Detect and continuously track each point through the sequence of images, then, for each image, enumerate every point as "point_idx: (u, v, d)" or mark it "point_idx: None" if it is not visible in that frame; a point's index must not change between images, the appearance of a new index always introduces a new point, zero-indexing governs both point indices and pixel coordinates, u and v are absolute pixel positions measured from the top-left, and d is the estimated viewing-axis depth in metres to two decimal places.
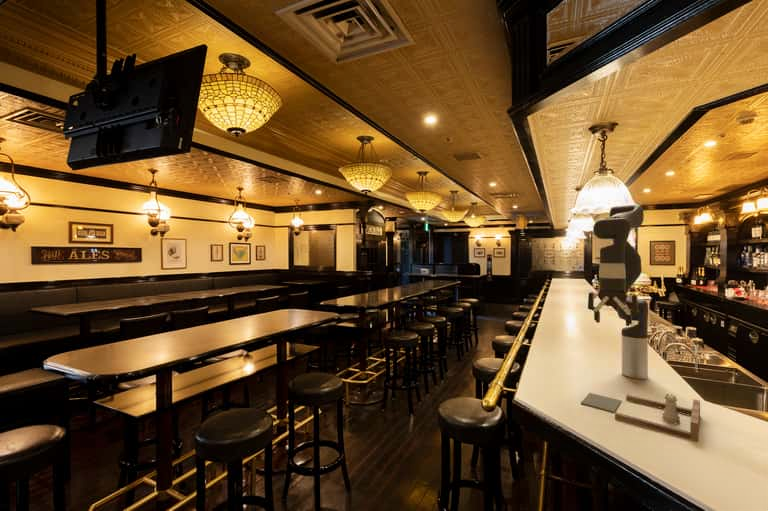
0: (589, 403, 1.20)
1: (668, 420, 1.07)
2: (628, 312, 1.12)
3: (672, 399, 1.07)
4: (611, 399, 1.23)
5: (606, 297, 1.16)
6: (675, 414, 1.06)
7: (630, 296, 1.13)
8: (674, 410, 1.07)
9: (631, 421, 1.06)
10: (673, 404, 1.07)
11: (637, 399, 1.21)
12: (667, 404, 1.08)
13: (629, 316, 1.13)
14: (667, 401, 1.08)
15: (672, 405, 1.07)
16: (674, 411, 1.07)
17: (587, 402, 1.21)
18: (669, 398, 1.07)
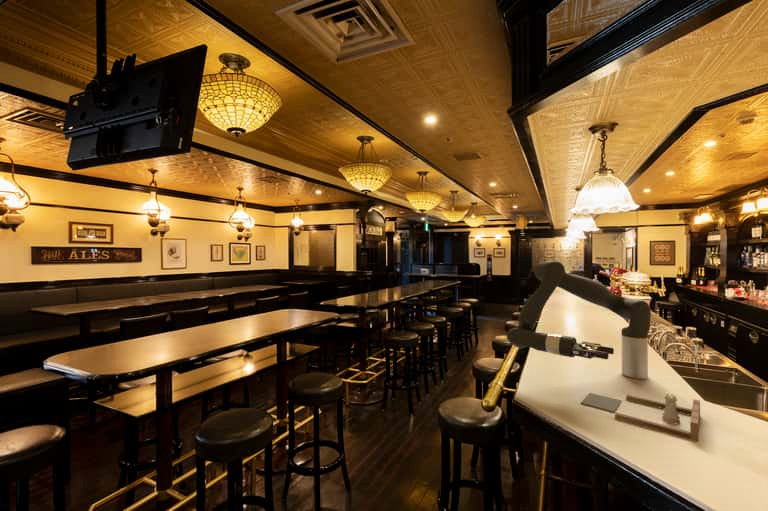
0: (589, 403, 1.20)
1: (668, 420, 1.07)
2: None
3: (672, 399, 1.07)
4: (611, 399, 1.23)
5: None
6: (675, 414, 1.06)
7: None
8: (674, 410, 1.07)
9: (631, 421, 1.06)
10: (673, 404, 1.07)
11: (637, 399, 1.21)
12: (667, 404, 1.08)
13: (596, 356, 1.18)
14: (667, 401, 1.08)
15: (672, 405, 1.07)
16: (674, 411, 1.07)
17: (587, 402, 1.21)
18: (669, 398, 1.07)
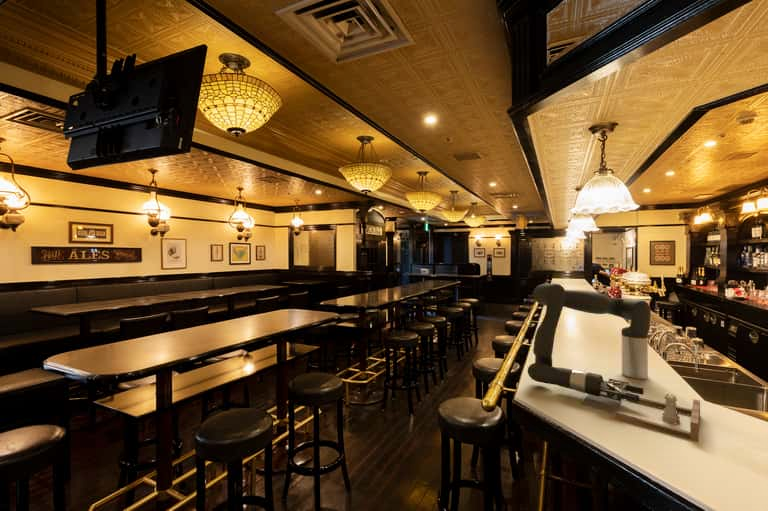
0: (589, 403, 1.20)
1: (668, 420, 1.07)
2: None
3: (672, 399, 1.07)
4: (611, 399, 1.23)
5: None
6: (675, 414, 1.06)
7: None
8: (674, 410, 1.07)
9: (631, 421, 1.06)
10: (673, 404, 1.07)
11: None
12: (667, 404, 1.08)
13: (626, 398, 1.12)
14: (667, 401, 1.08)
15: (672, 405, 1.07)
16: (674, 411, 1.07)
17: (587, 402, 1.21)
18: (669, 398, 1.07)
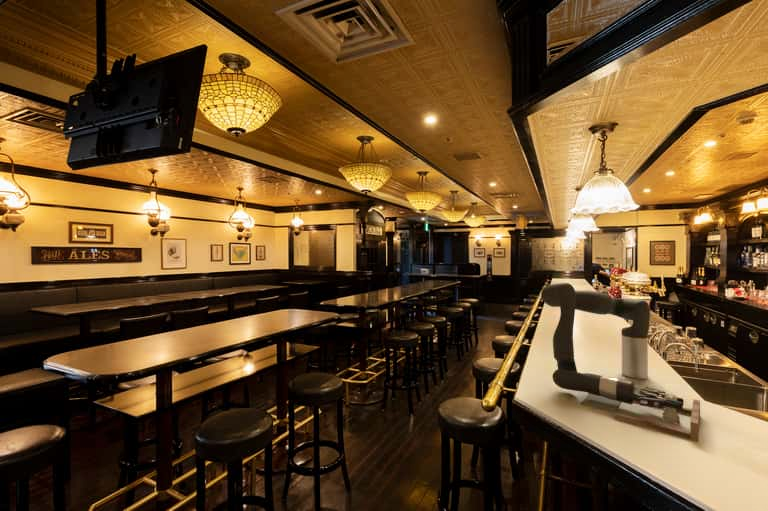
0: (589, 403, 1.20)
1: (668, 420, 1.07)
2: None
3: (672, 399, 1.07)
4: None
5: None
6: (675, 414, 1.06)
7: None
8: (674, 410, 1.07)
9: (631, 421, 1.06)
10: None
11: None
12: None
13: None
14: None
15: None
16: (674, 411, 1.07)
17: (587, 402, 1.21)
18: (669, 398, 1.07)
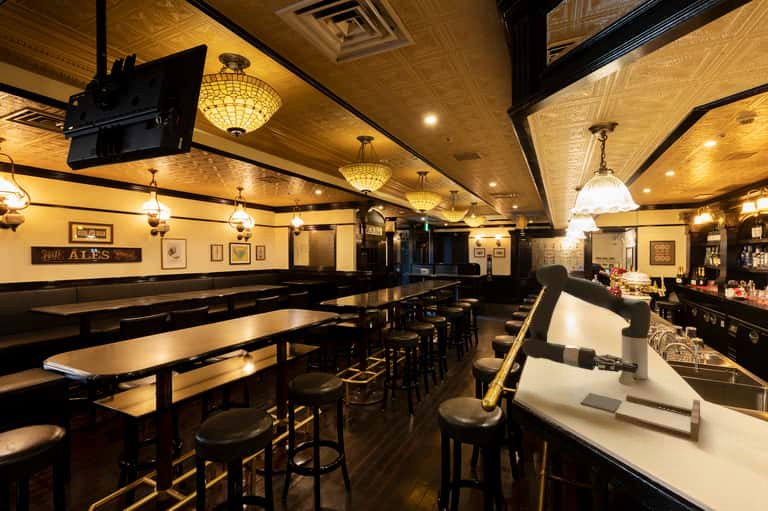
0: (589, 403, 1.20)
1: (623, 383, 1.15)
2: None
3: (627, 363, 1.15)
4: (611, 399, 1.23)
5: None
6: (630, 377, 1.14)
7: None
8: (629, 374, 1.15)
9: (631, 421, 1.06)
10: None
11: (637, 399, 1.21)
12: None
13: (624, 369, 1.14)
14: None
15: None
16: (629, 375, 1.15)
17: (587, 402, 1.21)
18: (625, 363, 1.15)
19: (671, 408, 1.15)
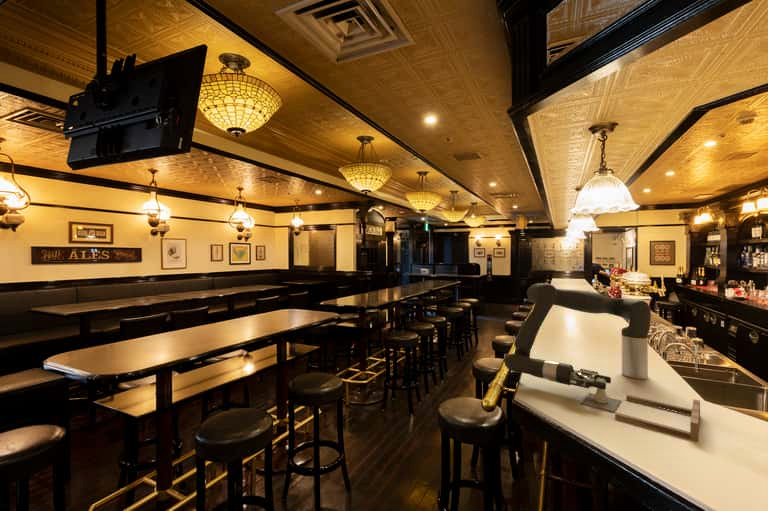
0: (589, 403, 1.20)
1: (598, 400, 1.20)
2: None
3: None
4: (611, 399, 1.23)
5: None
6: (604, 395, 1.20)
7: None
8: (603, 392, 1.20)
9: (631, 421, 1.06)
10: None
11: (637, 399, 1.21)
12: None
13: None
14: None
15: None
16: (603, 393, 1.20)
17: (587, 402, 1.21)
18: None
19: (671, 408, 1.15)
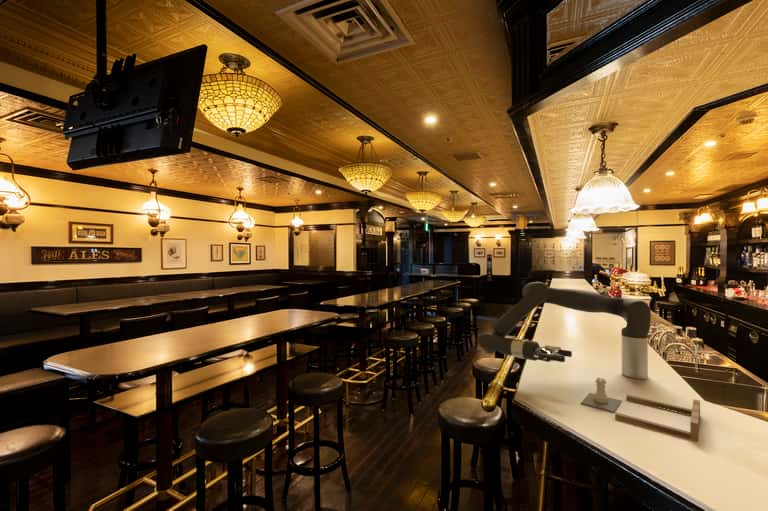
0: (589, 403, 1.20)
1: (598, 401, 1.20)
2: None
3: (601, 382, 1.20)
4: (611, 399, 1.23)
5: None
6: (604, 395, 1.20)
7: None
8: (603, 392, 1.20)
9: (631, 421, 1.06)
10: (602, 386, 1.20)
11: (637, 399, 1.21)
12: (597, 386, 1.21)
13: (554, 359, 1.27)
14: (597, 384, 1.21)
15: (601, 387, 1.20)
16: (603, 393, 1.20)
17: (587, 402, 1.21)
18: (599, 381, 1.20)
19: (671, 408, 1.15)
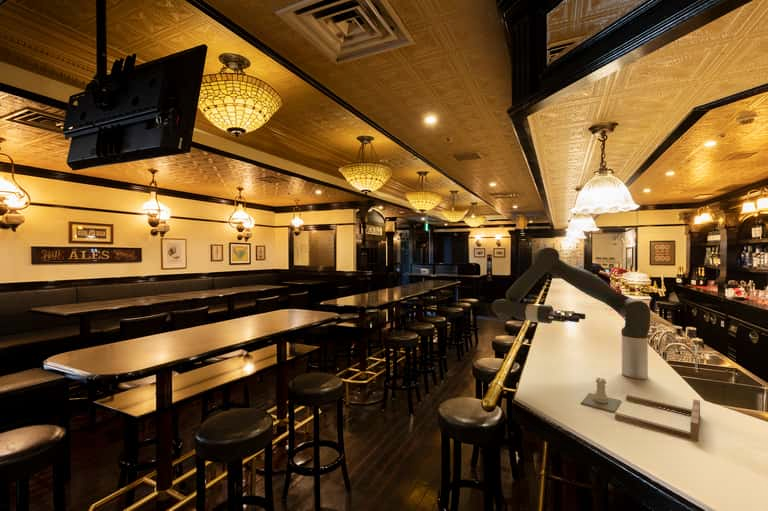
0: (589, 403, 1.20)
1: (598, 401, 1.20)
2: None
3: (601, 382, 1.20)
4: (611, 399, 1.23)
5: None
6: (604, 395, 1.20)
7: None
8: (603, 392, 1.20)
9: (631, 421, 1.06)
10: (602, 386, 1.20)
11: (637, 399, 1.21)
12: (597, 386, 1.21)
13: (569, 320, 1.32)
14: (597, 384, 1.21)
15: (601, 387, 1.20)
16: (603, 393, 1.20)
17: (587, 402, 1.21)
18: (599, 381, 1.20)
19: (671, 408, 1.15)
